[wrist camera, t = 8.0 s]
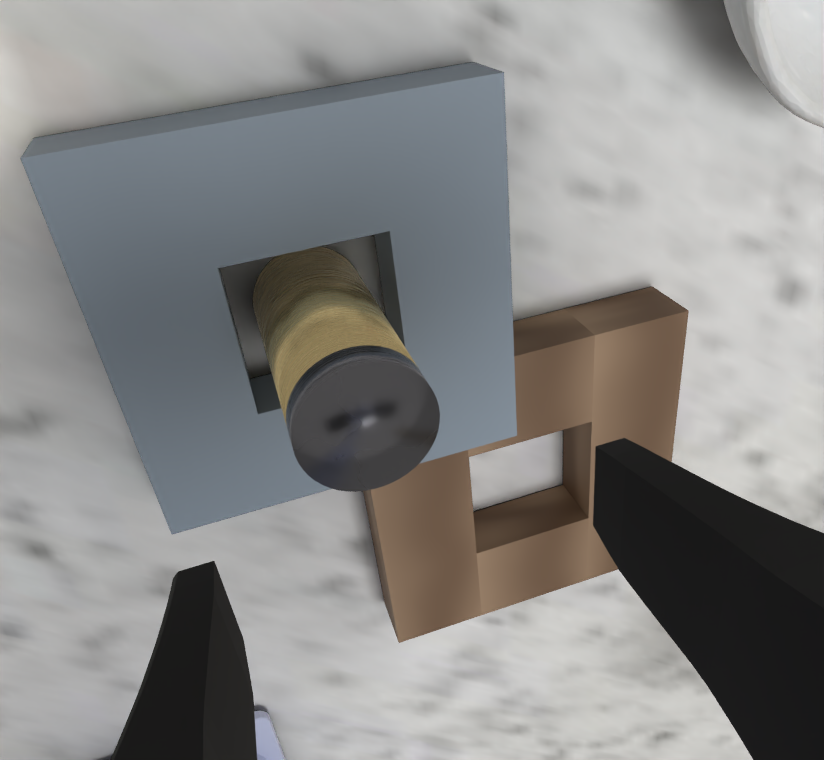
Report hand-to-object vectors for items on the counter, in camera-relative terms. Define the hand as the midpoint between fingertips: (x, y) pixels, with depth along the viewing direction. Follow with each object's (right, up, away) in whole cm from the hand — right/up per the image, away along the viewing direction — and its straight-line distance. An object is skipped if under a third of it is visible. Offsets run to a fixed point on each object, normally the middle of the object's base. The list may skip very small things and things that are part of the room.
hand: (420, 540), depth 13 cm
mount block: (+3, 0, +13) cm, 14 cm away
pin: (-3, +5, +8) cm, 10 cm away
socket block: (-3, +5, +8) cm, 10 cm away
